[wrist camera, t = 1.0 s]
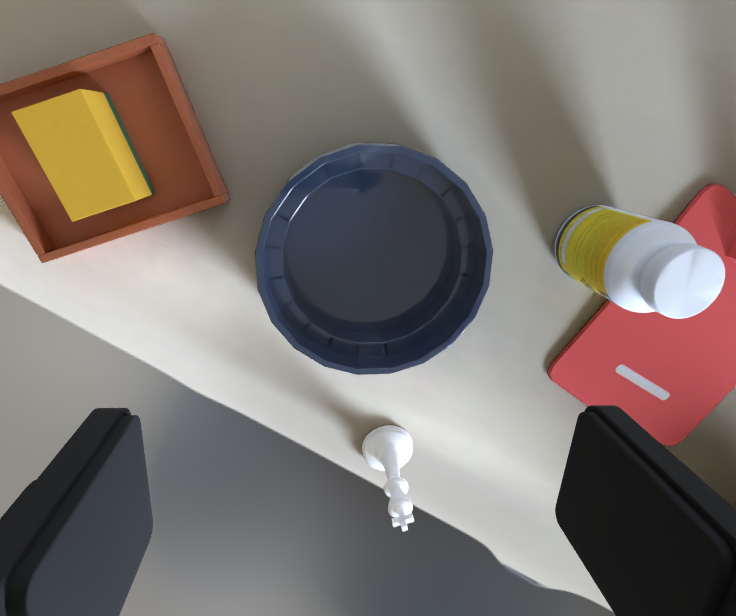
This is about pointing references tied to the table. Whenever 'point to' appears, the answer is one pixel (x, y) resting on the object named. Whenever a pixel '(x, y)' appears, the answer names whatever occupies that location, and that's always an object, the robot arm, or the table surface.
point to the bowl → (373, 258)
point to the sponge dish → (146, 131)
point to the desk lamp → (663, 343)
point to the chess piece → (391, 468)
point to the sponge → (84, 152)
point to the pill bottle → (639, 261)
